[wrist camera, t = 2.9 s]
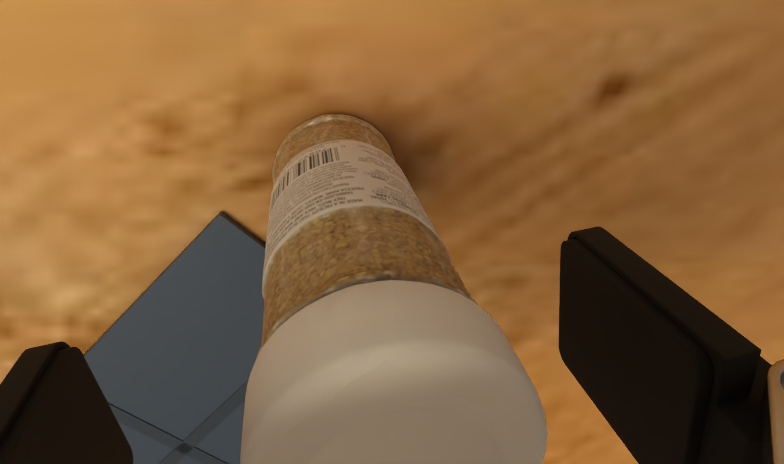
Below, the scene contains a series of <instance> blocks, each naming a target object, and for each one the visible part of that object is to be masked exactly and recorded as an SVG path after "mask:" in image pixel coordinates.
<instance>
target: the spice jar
mask: <svg viewBox="0 0 784 464" xmlns="http://www.w3.org/2000/svg"><path fill="white" fill-rule="evenodd" d="M272 175H273V185H274V187H273V191H272V195H271V201H270V210H269V219H268V228H267V237H266V248H265V259H264V268H263V281H262V295H263V298H264V314H263V331H262V343H261V347H260V349H259V351H258V354H257V358H256V361H255V363H254V366H253V368H252V371H251V373H250V377H249V380H248V384H247V390H246V397H245V407H244V417H243V428H242V441H241V454H240V464H542V462H543V458H544V455H545V450H546V442H547V428H546V418H545V413H544V410H543V407H542V404H541V401H540V398H539V396H538V393H537V391H536V389H535V387H534V385H533V384H532V382H531V380H530V378H529V376H528V374H527V372H526V370H525V369H524V367H523V365H522V363H521V362H520V360H519V358H518V356H517V355H516V353H515V351H514V350H513V348H512V346H511V345H510V343H509V341H508V340H507V338H506V336H505V335H504V333H503V331H502V330H501V328H500V327H499V325H498V324H497V322H496V321H495V320H494V319H493V317H492V316H491V315H489V314H488V313H487V312H486V311H485V310H484V309H483V308H481V307H480V306H479V305H478V304H477V303H476V302H475V300H474V299H472V298H471V296H470V294H469V293H468V291H467V290H466V289H465V287H464V284H463V282H462V280H461V278H460V276H459V274H458V273H457V271H456V270H455V268H454V267H453V265H452V262H451V258H450V256H449V254H448V251H447V249H446V247H445V245H444V244H443V242H442V240H441V238H440V237H439V235H438V233H437V232H436V230H435V228H434V226H433V225H432V223H431V221H430V219H429V218H428V216H427V214H426V212H425V211H424V209H423V207H422V205H421V204H420V202H419V200H418V198H417V196H416V195H415V193H414V191H413V189H412V187H411V185H410V184H409V182H408V180H407V178H406V176H405V175H404V173H403V171H402V170H401V168H400V167H399V166H398V165H397V163H396V162H395V158H394V156H393V153H392V151H391V149H390V145H389V144H388V142H387V140H386V139H385V138H384V136H383V135H382V134H381V133H380V132H379V131H378V130H376V129H375V127H373V126H372V125H371V124H370V123H368V122H366V121H363V120H361V119H359V118H356V117H353V116H349V115H344V114H326V115H320V116H317V117H315V118H313V119H310V120H307V121H305V122H303V123H302V124H301V125H300V126H298V127H296V128H294V129H293V130H292V131H291V132H290V133H289V134H288V135H287V137H286V138H285V139H284V140H283V142H282V143H281V145H280V147H279V148H278V150H277V154H276V158H275V162H274V164H273V168H272Z"/></svg>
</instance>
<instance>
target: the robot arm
mask: <svg viewBox="0 0 784 464" xmlns="http://www.w3.org/2000/svg"><path fill="white" fill-rule="evenodd" d="M559 351H560V354H561V357H562V360H563V362H564V363H565V365H566V366H567V367H568V369H569V370H570V371H571V373H572V374H573V375H574V377H575V378H576V380H577V381H578V382H579V384H580V385H581V386H582V388H583V389H584V390H585V392H586V393H587V394H588V396H589V397H590V398H591V400H592V401H593V403H594V404H595V405H596V407H597V408H598V409H599V411H600V412H601V413H602V415H603V416H604V417H605V419H606V420H607V421H608V423H609V424H610V425H611V427H612V428H613V430H614V431H615V432H616V434H617V435H618V436H619V438H620V439H621V440H622V442H623V443H624V444H625V446H626V447H627V448H628V450H629V451H630V453H631V454H632V455H633V457H634V458H635V459H636V461H637V462H638V463H639V464H784V359H783V360H780V361H777V362H776V363H775V364H774V365H771V364H769V363H768V362H767V361H766V360H764V359H763V358H762V357H760V353H761V349H759V348H758V347H757V346H755V345H754V344H753V343H751V342H750V341H749V340H748V339H746V338H745V337H744V336H742V335H741V334H740V333H738V332H737V331H736V330H735V329H733V328H732V327H731V326H729V325H728V324H727V323H726V322H724V321H723V320H722V319H720V318H719V317H718V316H716V315H715V314H714V313H713V312H711V311H710V310H709V309H707V308H706V307H705V306H703V305H702V304H701V303H700V302H698V301H697V300H696V299H694V298H693V297H692V296H690V295H689V294H688V293H687V292H685V291H684V290H683V289H681V288H680V287H679V286H677V285H676V284H675V283H674V282H672V281H671V280H670V279H668V278H667V277H666V276H664V275H663V274H662V273H661V272H659V271H658V270H657V269H655V268H654V267H653V266H651V265H650V264H649V263H648V262H646V261H645V260H644V259H642V258H641V257H640V256H638V255H637V254H636V253H635V252H633V251H632V250H631V249H629V248H628V247H627V246H625V245H624V244H623V243H622V242H620V241H619V240H618V239H616V238H615V237H614V236H612V235H611V234H610V233H609V232H607V231H606V230H605V229H603V228H601V227H593V228H588V229H584V230H579V231H574V232H571V233H570V234H569V236H568V240H566V241H563V242H562V244H561V258H560V306H559ZM133 461H134V460H133V452H132V449H131V446H130V445H129V443H128V441H127V439H126V437H125V435H124V433H123V431H122V429H121V427H120V425H119V423H118V421H117V419H116V417H115V416H114V414H113V412H112V410H111V408H110V406H109V404H108V402H107V400H106V398H105V396H104V394H103V392H102V390H101V388H100V387H99V385H98V383H97V381H96V379H95V377H94V375H93V373H92V371H91V369H90V367H89V365H88V363H87V361H86V359H85V358H84V356H83V354H82V352H81V351H80V349H78V348H77V347H71V348H70V346H69V345H68V344H67V343H65V342H57V343H52V344H47V345H43V346H38V347H33V348H29V349H26V350H25V351H24V352H23V353H22V354H21V356H20V357H19V359H18V360H17V361H16V363H15V364H14V366H13V367H12V369H11V370H10V372H9V373H8V374H7V376H6V377H5V379H4V380H3V382H2V383H1V384H0V464H133Z"/></svg>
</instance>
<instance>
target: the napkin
mask: <svg viewBox="0 0 784 464" xmlns="http://www.w3.org/2000/svg"><path fill="white" fill-rule="evenodd" d="M265 248H266V245H265V244H263V243H262V242H261V241H259V240H258V239H257V238H256V237H254V236H253V235H252V234H250V233H249V232H248V231H246V230H245V229H244V228H242V227H241V226H240V225H238V224H237V223H236V222H234V221H233V220H232V219H230V218H229V217H228V216H226V215H225V214H224V213H222V212H220V213H219V214H218V215H217V216H216V217H215V218H214V219H213V220H212V221H211V222H210V223H209V224H208V225H207V226H206V227H205V228H204V229H203V231H202V232H201V233H200V234H199V235H198V236H197V237H196V238H195V239H194V240H193V241H192V242H191V243H190V244H189V245H188V246H187V247H186V248H185V249H184V250H183V251H182V252H181V254H180V255H179V256H178V257H177V258H176V259H175V260H174V261H173V262H172V263H171V264H170V265H169V266H168V267H167V268H166V269H165V270H164V271H163V272H162V273H161V274H160V275H159V277H158V278H157V279H156V280H155V281H154V282H153V283H152V284H151V285H150V286H149V287H148V288H147V289H146V290H145V291H144V292H143V293H142V294H141V295H140V296H139V297H138V298H137V300H136V301H135V302H134V303H133V304H132V305H131V306H130V307H129V308H128V309H127V310H126V311H125V312H124V313H123V314H122V315H121V316H120V317H119V318H118V319H117V320H116V321H115V323H114V324H113V325H112V326H111V327H110V328H109V329H108V330H107V331H106V332H105V333H104V334H103V335H102V336H101V337H100V338H99V339H98V340H97V341H96V342H95V343H94V344H93V346H92V347H91V348H90V349H89V350H88V351H87V352H86V353H85V354H84V355H83V356H84V358H85V359H86V361H87V363H88V365H89V367H90V369H91V371H92V373H93V375H94V377H95V379H96V381H97V383H98V385H99V387H100V388H101V390H102V392H103V394H104V396H105V398H106V400H107V402H108V404H109V406H110V408H111V410H112V412H113V414H114V416H115V417H116V419H117V421H118V423H119V425H120V427H121V429H122V431H123V433H124V435H125V437H126V439H127V441H128V443H129V445H130V446H131V449H132V452H133V460H134V461H133V464H240V454H241V441H242V428H243V417H244V407H245V397H246V390H247V384H248V380H249V377H250V373H251V371H252V368H253V366H254V363H255V361H256V358H257V354H258V351H259V349H260V347H261V343H262V331H263V314H264V298H263V295H262V281H263V268H264V259H265Z"/></svg>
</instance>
